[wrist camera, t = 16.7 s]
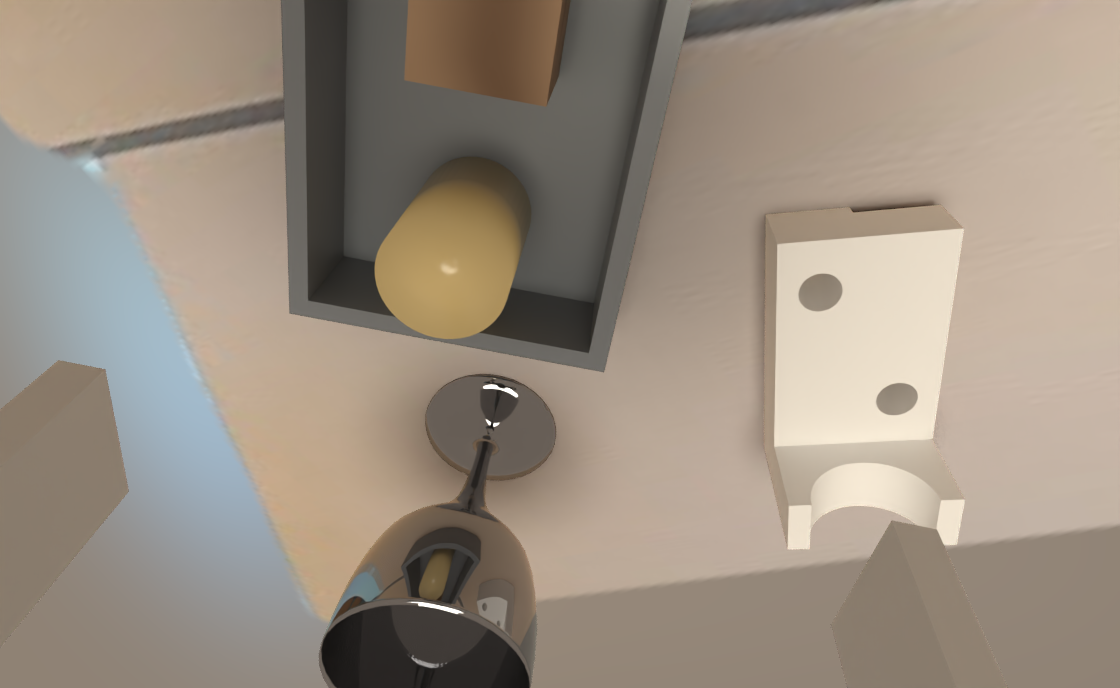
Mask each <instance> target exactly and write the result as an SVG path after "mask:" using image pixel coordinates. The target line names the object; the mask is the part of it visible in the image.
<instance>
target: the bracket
mask: <svg viewBox="0 0 1120 688" xmlns="http://www.w3.org/2000/svg"><path fill="white" fill-rule="evenodd" d="M963 232H964V228H963V227H962V226H961V225H960V224H959V223H958V222H957V221H956V220H955V219H954V218H953V217H952V216H951V215H950V214H949V213H948V211H947V210H946V209H945V208H944V207H943V206H942V205H933V206H922V207H910V208H899V209H888V210H877V211H865V212H854V213H853V212H852V210H851V209H850V207H844V208H832V209H821V210H810V211H799V212H788V213H777V214H766V222H765V350H764V450H765V454H766V458H767V463H768V467H769V471H770V476H771V480H772V484H773V489H774V493H775V497H776V502H777V506H778V510H779V515H780V519H781V523H782V528H783V532H784V536H785V541H786V545H787V549H810V530H811V528H812V526H813V525H814V523H815V522H816V521H817V520H818V519H819V518H820V517H821V516H823V515H824V514H826V513H828V512H830V511H832V510H835V509H838V508H842V507H848V506H871V507H877V508H882V509H886V510H889V511H892V512H894V513H897V514H899V515H901V516H903V517H905V518H907V519H909V520H910V521H912V522H913V523H915V524H916V525H917V526H922V527H928V528H933V529H937V531H938V533H939V535H940V537H941V540H942V542H943V544H944V545H957V540H958V535H959V530H960V524H961V519H962V514H963V508H964V503H965V498H964V496H963V495H962V493H961V491H960V489H959V487H958V485H957V483H956V482H955V480H954V478H953V476H952V474H951V472H950V471H949V469H948V467H947V465H946V463H945V461H944V460H943V458H942V456H941V454H940V452H939V450H938V448H937V447H936V445H935V443H934V441H933V432H934V426H935V419H936V412H937V406H938V399H939V392H940V386H941V379H942V372H943V366H944V359H945V352H946V346H947V339H948V332H949V326H950V319H951V312H952V306H953V299H954V292H955V286H956V279H957V272H958V265H959V259H960V252H961V245H962V239H963Z"/></svg>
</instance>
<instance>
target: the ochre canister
mask: <svg viewBox="0 0 1120 688" xmlns="http://www.w3.org/2000/svg"><path fill="white" fill-rule="evenodd" d="M530 223H531V206H530V201H529V198H528V195H527V192H526V190H525V188H524V187H523V185H522V184H521V182H520V181H519V180H518V178H517V177H516V176H515V175H514V174H513V173H512V172H511V171H510V170H508V169H507V168H505V167H504V166H502V165H501V164H499V163H497V162H495V161H492V160H489V159H486V158H481V157H461V158H457V159H453V160H451V161H449V162H446V163H445V164H443V165H441V166H440V167H439V168H438V169H436V170H435V171H434V172H433V173H432V175H431V176H430V177H429V178H428V180H427V181H426V183H425V184H424V185H423V187H422V188H421V190H420V191H419V192H418V194H417V195H416V196H415V198H414V199H413V201H412V202H411V203H410V205H409V206H408V208H407V209H406V210H405V212H404V213H403V214H402V216H401V217H400V219H399V220H398V221H397V223H396V224H395V226H394V227H393V228H392V230H391V231H390V233H389V234H388V235H387V237H386V238H385V240H384V241H383V243H382V244H381V246H380V248H379V250H378V253H377V256H376V260H375V280H376V285H377V288H378V291H379V294H380V296H381V298H382V300H383V301H384V303H385V305H386V306H387V307H388V309H389V310H390V311H391V313H392V314H393V315H394V316H395V317H396V318H397V319H399V320H400V321H401V322H402V323H404V324H405V325H406V326H408V327H410V328H411V329H413V330H415V331H417V332H419V333H422V334H424V335H427V336H431V337H435V338H441V339H458V338H464V337H469V336H472V335H474V334H477V333H479V332H481V331H483V330H484V329H486V328H487V327H489V326H490V325H491V324H492V323H493V322H494V321H495V320H496V319H497V318H498V316H499V315H500V314H501V312H502V310H503V309H504V306H505V304H506V301H507V298H508V295H509V292H510V288H511V285H512V282H513V279H514V276H515V272H516V269H517V266H518V263H519V260H520V257H521V253H522V250H523V247H524V244H525V241H526V237H527V234H528V231H529V228H530Z"/></svg>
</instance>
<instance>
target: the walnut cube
mask: <svg viewBox="0 0 1120 688" xmlns="http://www.w3.org/2000/svg"><path fill="white" fill-rule="evenodd" d="M570 1H571V0H408V18H407V37H406V57H405V76H404V80H406V81H411V82H417V83H422V84H427V85H433V86H438V87H443V88H449V89H454V90H459V91H465V92H470V93H475V94H481V95H486V96H491V97H497V98H502V99H507V100H513V101H518V102H523V103H529V104H534V105H539V106H545V107H546V106H547V104H548V101H549V99H550V97H551V94H552V92H553V89H554V87H555V84H556V82H557V80H558V77H559V71H560V65H561V59H562V52H563V46H564V39H565V33H566V27H567V20H568V14H569V7H570Z"/></svg>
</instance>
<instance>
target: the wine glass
mask: <svg viewBox="0 0 1120 688" xmlns="http://www.w3.org/2000/svg"><path fill="white" fill-rule="evenodd" d="M425 425H426V431H427V435H428V438H429V440H430V443H431V444H432V446H433V448H434V449H435V451H436V452H437V453H438V454H439V456H440V457H441V458H442V459H443V460H444V461H446V462H447V463H448V464H449V465H450V466H452V467H454V468H455V469H457V470H458V471H460V472H463V473H465V474H467V475H469V476H468V478H467V480H466V482H465V484H464V486H463V488H462V490H461V492H460V493H459V495H458V496H457V497H456V498H455V499H453V500H452V501H450V502H447V503H441V504H436V505H431V506H427V507H423V508H421V509H418V510H416V511H414V512H412V513H409V514H407V515H405V516H403V517H401V518H400V519H399V520H397V521H396V522H394V523H393V524H392V525H391V526H390V527H389V528H388V529H387V530H386V531H385V532H384V533H383V534H382V535H381V536H380V537H379V538H378V540H377V541H376V542H375V543H374V545H373V546H372V547H371V548H370V550H369V551H368V552H367V553H366V555H365V556H364V558H363V559H362V561H361V563H360V564H359V566H358V567H357V569H356V570H355V572H354V574H353V575H352V577H351V579H350V580H349V582H348V584H347V586H346V588H345V590H344V592H343V594H342V596H341V598H340V600H339V602H338V604H337V606H336V608H335V610H334V613H333V615H332V617H331V620H330V622H329V625H328V627H327V630H326V632H325V635H324V637H323V640H322V644H321V647H320V652H319V666H320V669H321V673H322V675H323V678H324V680H325V682H326V683H327V685H328V687H329V688H530V687H531V682H532V675H533V668H534V660H535V650H536V636H537V616H536V598H535V589H534V582H533V575H532V571H531V567H530V564H529V561H528V558H527V555H526V552H525V550H524V548H523V547H522V545H521V543H520V542H519V540H518V539H517V538H516V536H515V535H514V534H513V533H512V532H511V530H510V529H509V528H508V527H507V526H506V525H505V524H503V523H502V522H501V521H500V520H499V519H497V518H496V517H495V516H494V515H492V514H491V513H490V512H489V510H488V508H487V506H486V501H485V491H486V480H510V479H515V478H518V477H522V476H524V475H527V474H529V473H531V472H532V471H534V470H535V469H537V468H538V467H540V466H541V465H542V464H543V463H544V462H545V461H546V460H547V458H548V457H549V455H550V454H551V452H552V449H553V447H554V445H555V439H556V426H555V422H554V419H553V416H552V414H551V412H550V410H549V408H548V407H547V405H546V404H545V403H544V401H543V400H542V399H541V398H540V397H539V396H538V395H537V394H536V393H535V392H534V391H532V390H531V389H529V388H528V387H526V386H525V385H523V384H521V383H519V382H517V381H514V380H512V379H509V378H505V377H502V376H496V375H481V374H478V375H471V376H465V377H462V378H459V379H456V380H454V381H452V382H450V383H448V384H446V385H445V386H444V387H443V388H441V389H440V390H439V391H438V392H437V393H436V394H435V395H434V397H433V398H432V400H431V401H430V403H429V405H428V408H427V412H426V418H425Z"/></svg>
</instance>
